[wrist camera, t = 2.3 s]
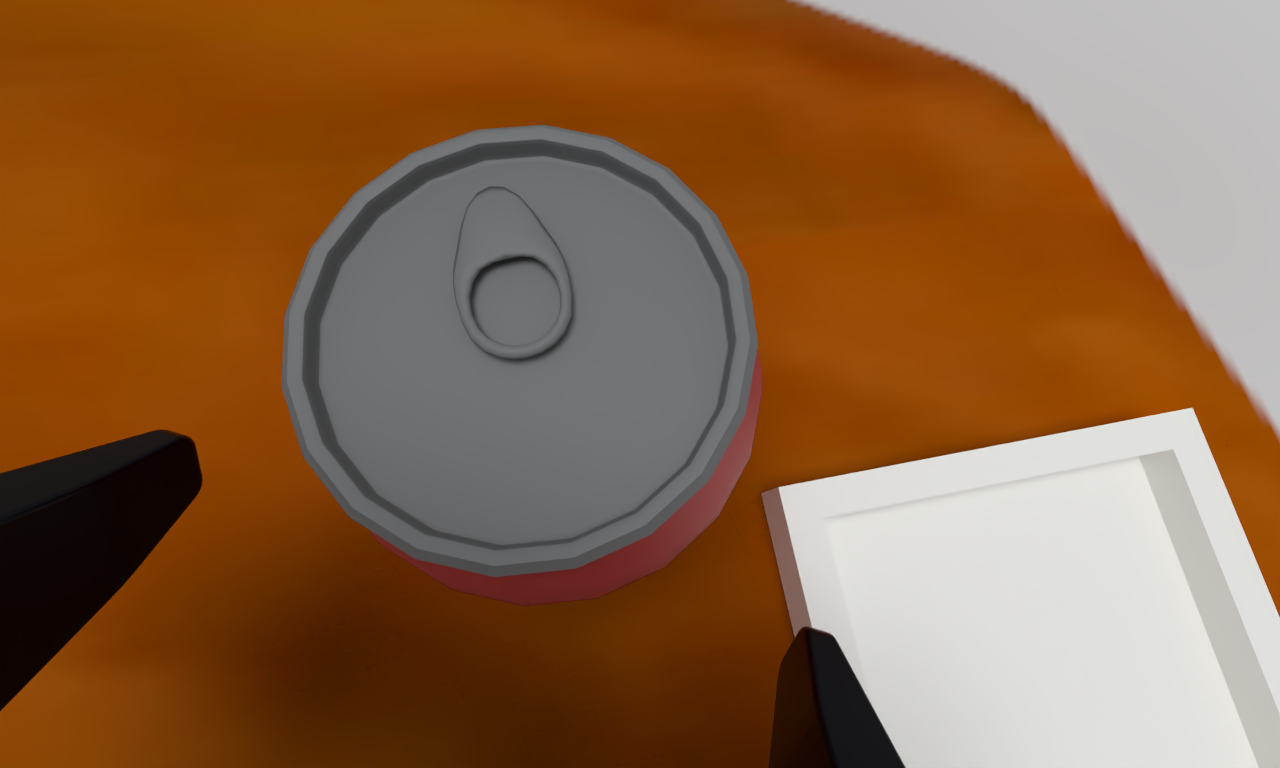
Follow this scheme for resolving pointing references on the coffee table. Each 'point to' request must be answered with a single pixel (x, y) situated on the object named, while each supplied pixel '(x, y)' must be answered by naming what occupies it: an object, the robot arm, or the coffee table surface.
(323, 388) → the beer can
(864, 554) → the dock tray
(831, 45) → the coffee table surface
